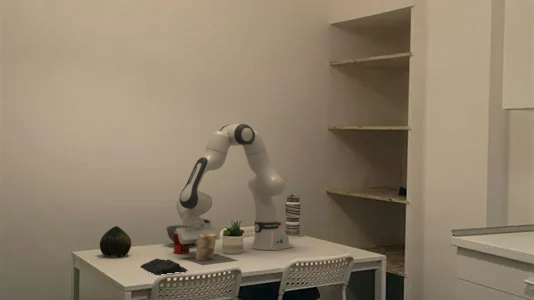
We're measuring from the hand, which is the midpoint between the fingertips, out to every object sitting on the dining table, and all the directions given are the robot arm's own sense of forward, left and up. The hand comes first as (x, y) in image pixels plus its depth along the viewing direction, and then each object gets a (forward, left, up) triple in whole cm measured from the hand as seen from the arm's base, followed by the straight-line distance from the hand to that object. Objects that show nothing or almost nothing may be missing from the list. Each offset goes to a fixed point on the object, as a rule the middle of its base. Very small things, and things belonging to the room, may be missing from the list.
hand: (203, 248), depth 304 cm
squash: (+31, -32, -6) cm, 45 cm away
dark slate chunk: (+26, +9, -6) cm, 28 cm away
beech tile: (0, 0, -5) cm, 5 cm away
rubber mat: (-2, +2, -5) cm, 6 cm away
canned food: (+1, -20, -6) cm, 20 cm away
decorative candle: (-81, -32, -6) cm, 87 cm away
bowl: (-12, -39, -6) cm, 41 cm away
